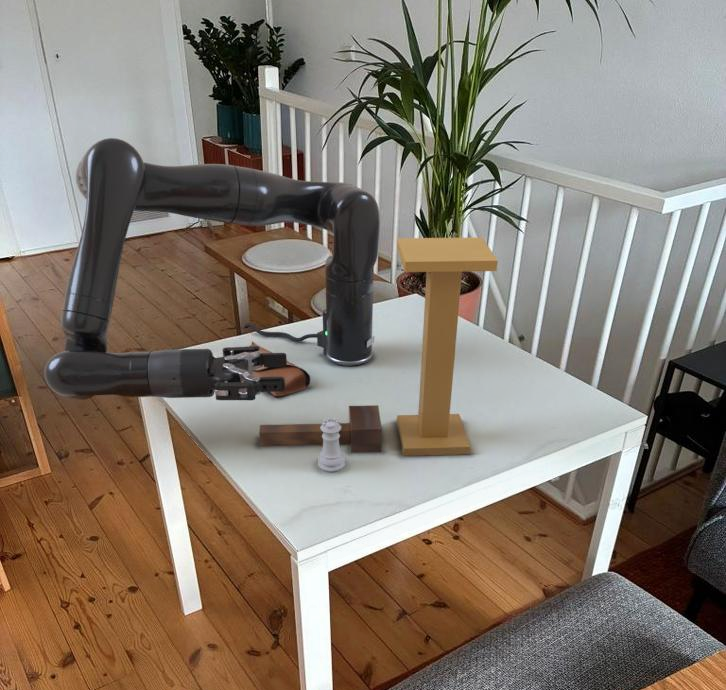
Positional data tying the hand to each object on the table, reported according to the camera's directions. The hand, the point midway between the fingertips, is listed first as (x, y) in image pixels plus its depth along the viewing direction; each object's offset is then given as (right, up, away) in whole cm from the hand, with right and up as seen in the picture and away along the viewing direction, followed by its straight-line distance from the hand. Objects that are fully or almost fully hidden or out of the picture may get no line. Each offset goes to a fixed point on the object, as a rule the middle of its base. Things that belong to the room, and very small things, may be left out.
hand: (285, 371), depth 116 cm
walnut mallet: (+5, -11, +8) cm, 14 cm away
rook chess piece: (+7, -15, +1) cm, 17 cm away
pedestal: (+24, -10, +9) cm, 27 cm away
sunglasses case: (-7, +3, +27) cm, 28 cm away
